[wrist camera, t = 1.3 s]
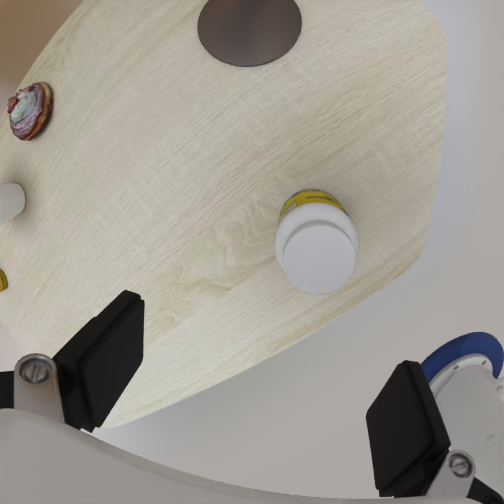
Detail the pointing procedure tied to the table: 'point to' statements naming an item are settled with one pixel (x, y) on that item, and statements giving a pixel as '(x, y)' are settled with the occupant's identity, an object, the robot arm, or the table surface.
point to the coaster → (249, 30)
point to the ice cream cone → (10, 201)
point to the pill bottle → (316, 242)
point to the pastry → (30, 110)
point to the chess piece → (3, 281)
